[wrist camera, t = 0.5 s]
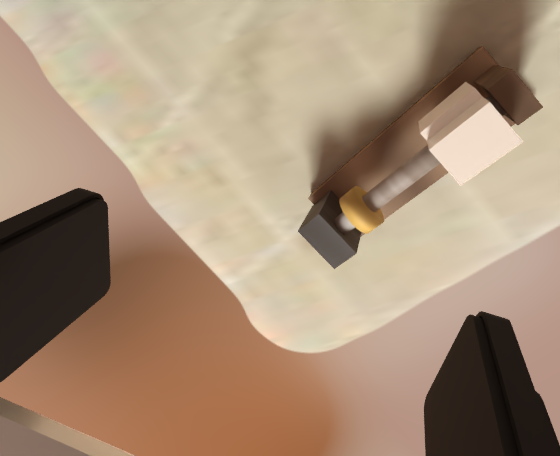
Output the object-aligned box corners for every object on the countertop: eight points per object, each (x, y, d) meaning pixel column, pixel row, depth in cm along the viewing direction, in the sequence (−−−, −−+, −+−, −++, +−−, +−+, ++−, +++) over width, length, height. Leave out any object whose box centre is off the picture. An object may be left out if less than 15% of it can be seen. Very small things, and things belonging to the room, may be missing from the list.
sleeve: (465, 81, 28) (481, 92, 22) (504, 128, 28) (531, 150, 22) (418, 121, 30) (421, 141, 24) (455, 164, 30) (467, 193, 24)
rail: (480, 46, 30) (500, 47, 23) (530, 106, 30) (563, 124, 24) (309, 195, 38) (290, 225, 32) (351, 239, 39) (340, 277, 33)
